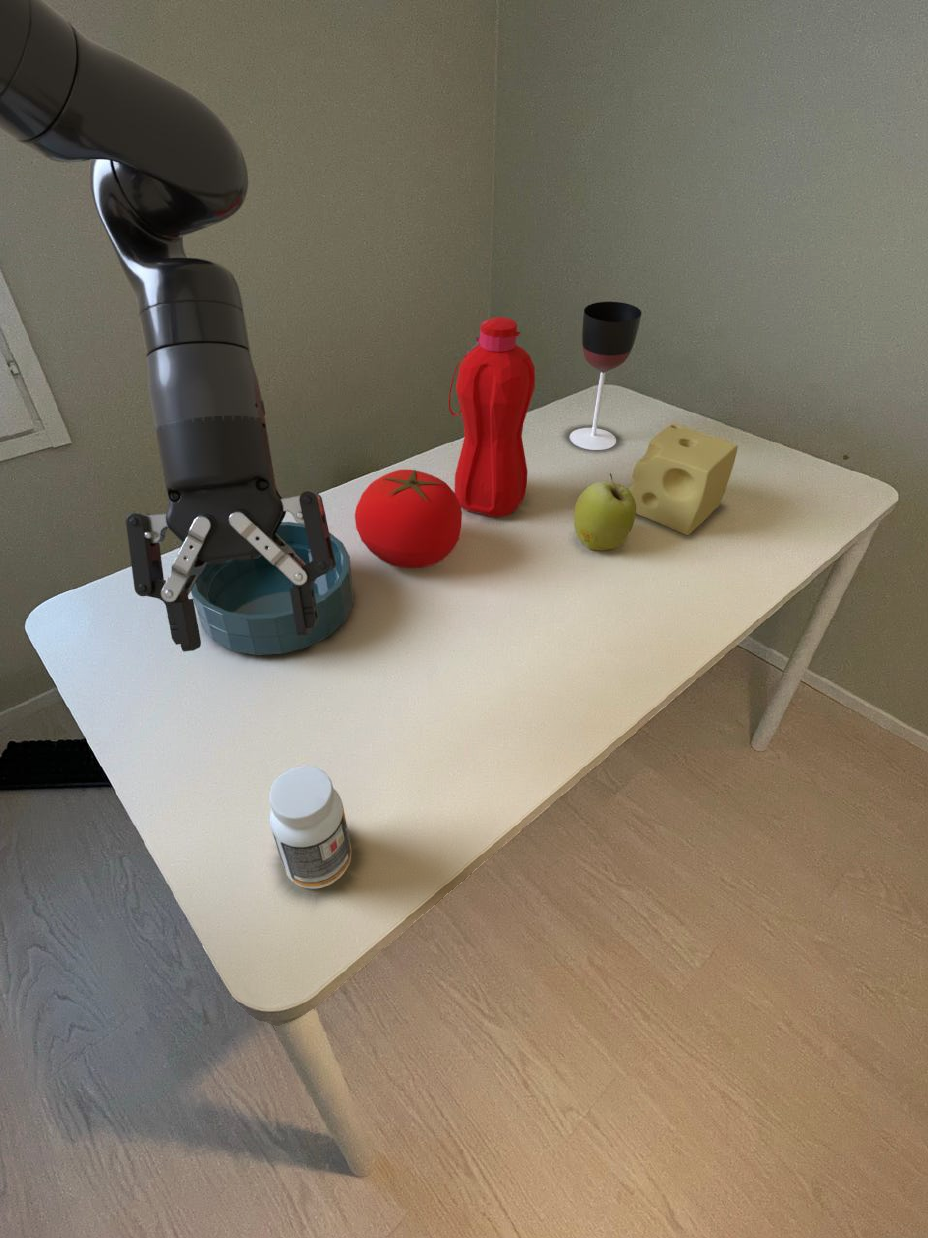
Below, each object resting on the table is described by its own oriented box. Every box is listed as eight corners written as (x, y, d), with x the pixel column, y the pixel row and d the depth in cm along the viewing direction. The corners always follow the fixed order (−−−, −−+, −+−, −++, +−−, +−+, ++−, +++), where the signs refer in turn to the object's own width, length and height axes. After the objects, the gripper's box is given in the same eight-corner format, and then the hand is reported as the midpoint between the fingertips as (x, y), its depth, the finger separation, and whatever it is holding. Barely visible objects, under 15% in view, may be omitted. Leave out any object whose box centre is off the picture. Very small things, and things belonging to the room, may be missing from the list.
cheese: (622, 510, 99) (635, 446, 92) (659, 480, 105) (673, 418, 98) (690, 539, 94) (709, 473, 87) (724, 506, 100) (744, 442, 94)
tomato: (436, 594, 85) (435, 517, 77) (343, 564, 89) (334, 489, 81) (476, 542, 93) (479, 467, 85) (389, 517, 97) (385, 444, 89)
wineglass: (557, 440, 114) (572, 312, 100) (586, 421, 119) (605, 297, 105) (599, 456, 110) (621, 326, 97) (627, 436, 115) (652, 310, 102)
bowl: (214, 678, 74) (201, 636, 70) (191, 581, 86) (179, 540, 82) (373, 634, 79) (369, 594, 75) (331, 549, 91) (326, 509, 87)
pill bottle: (366, 849, 60) (356, 781, 53) (321, 905, 56) (304, 838, 49) (314, 817, 62) (299, 747, 55) (268, 868, 58) (245, 800, 52)
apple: (551, 536, 92) (576, 464, 87) (587, 530, 98) (613, 462, 93) (597, 565, 88) (626, 491, 83) (632, 557, 93) (662, 487, 88)
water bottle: (460, 476, 105) (463, 301, 88) (530, 491, 102) (547, 313, 85) (436, 507, 99) (434, 325, 82) (510, 525, 96) (524, 340, 79)
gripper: (85, 427, 47) (132, 664, 49) (298, 399, 47) (335, 638, 49) (135, 440, 54) (174, 646, 56) (318, 416, 54) (350, 623, 56)
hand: (249, 642), depth 53 cm, fingers open, 8 cm apart
